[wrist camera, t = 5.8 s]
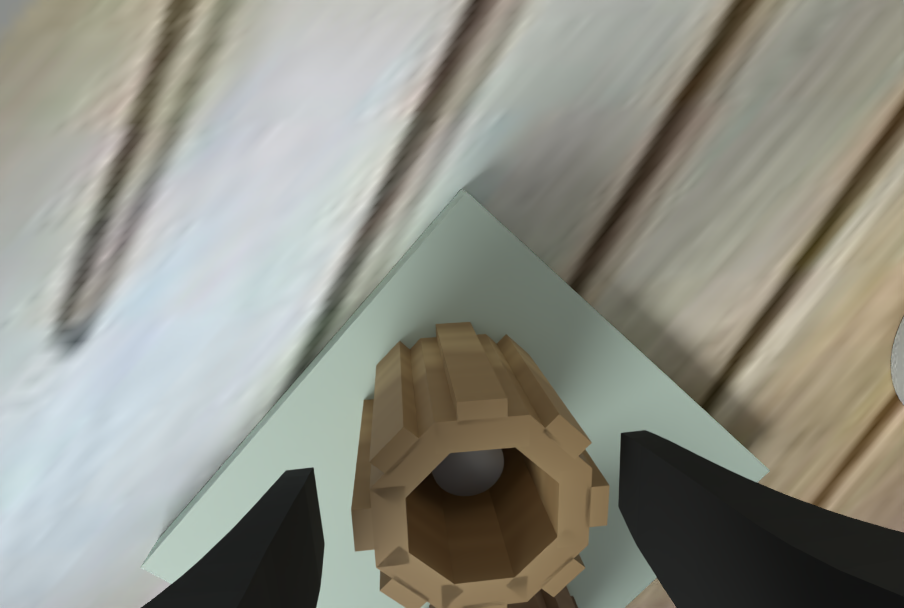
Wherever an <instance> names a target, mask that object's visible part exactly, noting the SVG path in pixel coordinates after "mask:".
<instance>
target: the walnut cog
mask: <svg viewBox="0 0 904 608" xmlns="http://www.w3.org/2000/svg"><path fill="white" fill-rule="evenodd" d="M429 608H436V607H434V606H433V605H431V604H430V605H429ZM507 608H578V606H577V604H576V601H575V599H574V597H573V596H570V593H569V591H568V588H567V586H565V587H564V588H563V589H562V590H561V591H560V592H559V593H558V594H557V595H556V596H555V597H553V596H551V595H550V594H548V593H547V592H546V591H544V590H543V589H542V588H541V589H540V590H539V591H538V592H537V593H536V594H535V595H534V596H533V597H532V598H531V599H530V600H529V601H528V602H521V603H512V604H507Z"/></svg>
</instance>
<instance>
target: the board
mask: <svg viewBox="0 0 904 608" xmlns="http://www.w3.org/2000/svg"><path fill="white" fill-rule="evenodd" d="M460 322H471V324H472V326H473V329H474V331H475V333H476V335H478V334H486V335H488V336H489V337H490V338H491V339H492V340H493V341H494V342H495V343H498V342H499V341H500V340H501V339H502V338H503V337H504V336H505V335H506V334H507V335H508V336H509V337H510V338H511V339H512V340H514V341H515V342H516V343H517V344H518V345H519V346H520V347H521V348H522V349H524V350H525V351H526V352H527V353H528V354H529V355H530V356H531V358H532V359H533V360H534V362H535V363H536V365H537V366H538V367H539V369H540V370H541V372H542V373H543V375H544V376H545V377H546V379H547V380H548V382H549V383H550V384H551V386H552V387H553V389H554V390H555V391H556V393H557V394H558V396H559V397H560V398H561V400H562V401H563V403H564V404H565V405H566V407H567V408H568V410H569V411H570V413H571V414H572V415H573V417H574V418H575V420H576V421H577V422H578V424H579V425H580V427H581V428H582V429H583V431H584V432H585V434H586V435H587V436H588V438H589V439H590V441H591V442H592V443H591V444H590V445H589V446H588V447H587V448H586V451H587V452H588V454H589V455H590V457H591V458H592V460H593V461H594V463H595V464H596V466H597V467H598V469H599V470H600V472H601V473H602V475H603V476H604V478H605V479H606V481H607V482H608V484H609V485H610V488H609V504H608V520H607V526H597V527H589V543H588V546H587V547H586V548H584V549H583V550H582V551H581V552H580V553H579V555H580V557H581V559H582V561H583V563H584V566H585V569H584V570H583V571H582V572H581V573H579V574H578V575H577V576H576V577H575V578H574V579H573V580H572V581H571V582H570V583H569V584H568V585H566V586H567V588H568V591H569V593H570V596H573V597H574V599H575V601H576V604H577V606H578V608H625V607H626V606H627V605H628V604H629V603H630V602H631V601H632V600H633V599H634V598H635V597H636V596H637V595H639V594H640V593H641V592H642V591H643V590H644V589H645V588H646V587H647V586H648V585H649V584H650V583H651V582H652V581H653V580H654V579H656V578H657V577H656V575H655V574H654V572H653V571H652V569H651V567H650V566H649V564H648V563H647V561H646V560H645V558H644V557H643V555H642V553H641V552H640V550H639V549H638V547H637V545H636V543H635V541H634V539H633V537H632V535H631V533H630V531H629V529H628V527H627V525H626V523H625V520H624V518H623V516H622V514H621V512H620V510H619V507H618V499H619V470H620V440H621V433H624V432H633V431H642V430H646V431H649V432H652V433H654V434H656V435H659V436H661V437H663V438H665V439H667V440H669V441H671V442H673V443H675V444H677V445H679V446H681V447H683V448H685V449H687V450H689V451H691V452H693V453H695V454H697V455H699V456H701V457H703V458H705V459H707V460H709V461H712V462H714V463H716V464H718V465H720V466H722V467H724V468H726V469H728V470H730V471H732V472H734V473H737V474H739V475H741V476H743V477H745V478H748V479H750V480H752V481H754V482H758V481H759V480H760V479H762V478H763V477H764V476H765V475H766V474H767V473H768V472H769V471H770V470H769V469H768V468H767V467H766V466H764V465H763V464H762V463H761V462H760V461H759V460H758V459H757V458H756V457H755V456H754V455H753V454H751V453H750V452H749V451H748V450H747V449H746V448H745V447H744V446H743V445H742V444H741V443H740V442H738V441H737V440H736V439H735V438H734V437H733V436H732V435H731V434H730V433H729V432H728V431H726V430H725V429H724V428H723V427H722V426H721V425H720V424H719V423H718V422H717V421H716V420H715V419H713V418H712V417H711V416H710V415H709V414H708V413H707V412H706V411H705V410H704V409H703V408H701V407H700V406H699V405H698V404H697V403H696V402H695V401H694V400H693V399H692V398H691V397H690V396H688V395H687V394H686V393H685V392H684V391H683V390H682V389H681V388H680V387H679V386H678V385H676V384H675V383H674V382H673V381H672V380H671V379H670V378H669V377H668V376H667V375H666V374H665V373H663V372H662V371H661V370H660V369H659V368H658V367H657V366H656V365H655V364H654V363H653V362H651V361H650V360H649V359H648V358H647V357H646V356H645V355H644V354H643V353H642V352H641V351H640V350H638V349H637V348H636V347H635V346H634V345H633V344H632V343H631V342H630V341H629V340H628V339H626V338H625V337H624V336H623V335H622V334H621V333H620V332H619V331H618V330H617V329H616V328H615V327H613V326H612V325H611V324H610V323H609V322H608V321H607V320H606V319H605V318H604V317H603V316H601V315H600V314H599V313H598V312H597V311H596V310H595V309H594V308H593V307H592V306H591V305H590V304H588V303H587V302H586V301H585V300H584V299H583V298H582V297H581V296H580V295H579V294H578V293H577V292H575V291H574V290H573V289H572V288H571V287H570V286H569V285H568V284H567V283H566V282H565V281H563V280H562V279H561V278H560V277H559V276H558V275H557V274H556V273H555V272H554V271H553V270H552V269H550V268H549V267H548V266H547V265H546V264H545V263H544V262H543V261H542V260H541V259H540V258H538V257H537V256H536V255H535V254H534V253H533V252H532V251H531V250H530V249H529V248H528V247H527V246H525V245H524V244H523V243H522V242H521V241H520V240H519V239H518V238H517V237H516V236H515V235H513V234H512V233H511V232H510V231H509V230H508V229H507V228H506V227H505V226H504V225H503V224H502V223H500V222H499V221H498V220H497V219H496V218H495V217H494V216H493V215H492V214H491V213H490V212H488V211H487V210H486V209H485V208H484V207H483V206H482V205H481V204H480V203H479V202H478V201H477V200H475V199H474V198H473V197H472V196H471V195H470V194H469V193H468V192H467V191H464V190H462V189H461V190H460V191H459V192H458V193H457V195H456V196H455V197H454V198H453V199H452V200H451V201H450V203H449V204H448V205H447V206H446V207H445V208H444V210H443V211H442V212H441V213H440V214H439V215H438V216H437V218H436V219H435V220H434V221H433V222H432V223H431V225H430V226H429V227H428V228H427V229H426V230H425V232H424V233H423V234H422V235H421V236H420V237H419V238H418V240H417V241H416V242H415V243H414V244H413V245H412V247H411V248H410V249H409V250H408V251H407V252H406V253H405V255H404V256H403V257H402V258H401V259H400V260H399V262H398V263H397V264H396V265H395V266H394V267H393V268H392V270H391V271H390V272H389V273H388V274H387V275H386V277H385V278H384V279H383V280H382V281H381V282H380V284H379V285H378V286H377V287H376V288H375V289H374V290H373V292H372V293H371V294H370V295H369V296H368V297H367V299H366V300H365V301H364V302H363V303H362V304H361V305H360V307H359V308H358V309H357V310H356V311H355V312H354V314H353V315H352V316H351V317H350V318H349V319H348V321H347V322H346V323H345V324H344V325H343V326H342V327H341V329H340V330H339V331H338V332H337V333H336V334H335V336H334V337H333V338H332V339H331V340H330V341H329V342H328V344H327V345H326V346H325V347H324V348H323V349H322V351H321V352H320V353H319V354H318V355H317V356H316V357H315V359H314V360H313V361H312V362H311V363H310V364H309V366H308V367H307V368H306V369H305V370H304V371H303V373H302V374H301V375H300V376H299V377H298V378H297V379H296V381H295V382H294V383H293V384H292V385H291V386H290V388H289V389H288V390H287V391H286V392H285V393H284V394H283V396H282V397H281V398H280V399H279V400H278V401H277V403H276V404H275V405H274V406H273V407H272V408H271V409H270V411H269V412H268V413H267V414H266V415H265V416H264V418H263V419H262V420H261V421H260V422H259V423H258V425H257V426H256V427H255V428H254V429H253V430H252V431H251V433H250V434H249V435H248V436H247V437H246V438H245V440H244V441H243V442H242V443H241V444H240V445H239V446H238V448H237V449H236V450H235V451H234V452H233V453H232V455H231V456H230V457H229V458H228V459H227V460H226V461H225V463H224V464H223V465H222V466H221V467H220V468H219V470H218V471H217V472H216V473H215V474H214V475H213V477H212V478H211V479H210V480H209V481H208V482H207V483H206V485H205V486H204V487H203V488H202V489H201V490H200V492H199V493H198V494H197V495H196V496H195V497H194V498H193V500H192V501H191V502H190V503H189V504H188V505H187V507H186V508H185V509H184V510H183V511H182V512H181V513H180V515H179V516H178V517H177V518H176V519H175V520H174V522H173V523H172V524H171V525H170V526H169V527H168V529H167V530H166V531H165V532H164V533H163V534H162V535H161V537H160V538H159V539H158V540H157V542H156V543H155V545H154V547H153V548H152V550H151V551H150V553H149V555H148V556H147V558H146V560H145V561H144V563H143V564H142V566H141V568H142V569H144V570H146V571H148V572H150V573H151V574H153V575H155V576H157V577H159V578H161V579H163V580H164V581H166V582H168V583H170V584H172V583H173V582H175V581H176V580H177V579H178V578H180V577H181V576H182V575H183V574H184V573H185V572H187V571H188V570H189V569H190V568H191V567H192V566H194V565H195V564H196V563H197V562H198V561H199V560H200V559H201V558H202V557H203V556H205V555H206V554H207V553H208V552H209V551H210V550H211V549H212V548H213V547H214V546H215V545H216V544H217V543H218V542H219V541H220V540H221V539H222V538H223V537H224V536H225V535H226V534H227V533H228V532H229V531H230V530H231V529H232V528H233V527H234V526H235V525H236V524H237V523H238V522H239V521H240V520H241V519H242V518H243V517H244V516H245V515H246V514H247V513H248V512H249V510H250V509H251V508H252V507H253V506H254V505H255V504H256V503H257V502H258V501H259V499H260V498H261V497H262V496H263V495H264V494H265V493H266V492H267V491H268V489H269V488H270V487H271V486H272V485H273V484H274V483H275V482H276V481H277V480H278V478H279V477H280V476H281V475H282V474H283V473H284V472H285V471H286V470H294V469H302V468H311V467H314V474H315V480H316V487H317V494H318V501H319V508H320V514H321V521H322V528H323V535H324V542H325V547H324V558H323V569H322V578H321V588H320V593H319V597H318V602H317V607H316V608H405V607H404V606H402V605H400V604H399V603H397V602H396V601H394V600H393V599H391V598H390V597H388V596H387V595H385V594H384V593H382V592H381V591H380V570H379V569H377V568H376V563H375V551H374V550H366V551H356V552H355V547H354V537H353V526H352V516H351V506H352V497H353V488H354V480H355V471H356V462H357V454H358V445H359V436H360V428H361V419H362V410H363V401H364V400H369V399H374V389H375V376H376V365H377V364H378V363H379V362H380V361H381V360H382V359H383V358H384V357H385V356H386V355H387V353H388V352H389V351H390V350H391V349H392V348H393V347H394V346H395V345H396V344H397V343H398V342H399V341H400V342H402V343H403V344H404V345H405V346H406V347H408V348H409V349H411V348H412V347H413V346H414V344H415V343H416V342H417V341H418V340H419V339H420V338H431V337H436V324H443V323H460ZM503 467H504V456H503V452H502V450H501V449H491V450H480V451H468V452H457V453H450V454H449V455H448V456H447V457H446V458H445V459H444V460H443V461H442V462H441V463H440V464H439V465H438V466H437V467H436V468H435V469H434V470H433V471H432V474H433V477H434V479H435V481H436V482H437V484H438V485H439V486H440V487H441V488H442V489H443V490H445V491H446V492H448V493H450V494H453V495H457V496H473V495H477V494H480V493H482V492H484V491H486V490H488V489H489V488H490V487H492V486H493V485H494V484H495V483H496V482H497V480H498V479H499V477H500V475H501V473H502V471H503ZM429 605H430V603H428V602H426V603H425V604H424V605H423V606H422V607H421V608H429Z"/></svg>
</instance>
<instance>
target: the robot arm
mask: <svg viewBox="0 0 904 608" xmlns="http://www.w3.org/2000/svg"><path fill="white" fill-rule="evenodd" d="M618 507H619V510H620V512H621V514H622V516H623V518H624V520H625V523H626V525H627V527H628V529H629V531H630V533H631V535H632V537H633V539H634V541H635V543H636V545H637V547H638V549H639V550H640V552H641V553H642V555H643V557H644V558H645V560H646V561H647V563H648V564H649V566H650V567H651V569H652V571H653V572H654V574H655V575H656V577H657V578H658V580H659V581H660V583H661V584H662V586H663V588H664V589H665V591H666V592H667V594H668V595H669V597H670V598H671V600H672V601H673V603H674V604H675V606H676V607H677V608H904V533H903V532H899V531H895V530H891V529H888V528H884V527H881V526H878V525H874V524H871V523H867V522H864V521H861V520H857V519H854V518H850V517H847V516H844V515H841V514H838V513H835V512H832V511H829V510H826V509H823V508H820V507H818V506H815V505H812V504H809V503H807V502H804V501H801V500H798V499H796V498H793V497H790V496H788V495H785V494H783V493H780V492H778V491H775V490H773V489H771V488H768V487H766V486H764V485H761V484H759V483H757V482H754V481H752V480H750V479H748V478H745V477H743V476H741V475H739V474H737V473H734V472H732V471H730V470H728V469H726V468H724V467H722V466H720V465H718V464H716V463H714V462H712V461H709V460H707V459H705V458H703V457H701V456H699V455H697V454H695V453H693V452H691V451H689V450H687V449H685V448H683V447H681V446H679V445H677V444H675V443H673V442H671V441H669V440H667V439H665V438H663V437H661V436H659V435H656V434H654V433H652V432H649V431H646V430H642V431H633V432H624V433H621V440H620V470H619V499H618ZM324 547H325V542H324V535H323V528H322V521H321V514H320V508H319V501H318V494H317V487H316V480H315V474H314V467H311V468H302V469H294V470H286V471H285V472H284V473H283V474H282V475H281V476H280V477H279V478H278V480H277V481H276V482H275V483H274V484H273V485H272V486H271V487H270V488H269V489H268V491H267V492H266V493H265V494H264V495H263V496H262V497H261V498H260V499H259V501H258V502H257V503H256V504H255V505H254V506H253V507H252V508H251V509H250V510H249V512H248V513H247V514H246V515H245V516H244V517H243V518H242V519H241V520H240V521H239V522H238V523H237V524H236V525H235V526H234V527H233V528H232V529H231V530H230V531H229V532H228V533H227V534H226V535H225V536H224V537H223V538H222V539H221V540H220V541H219V542H218V543H217V544H216V545H215V546H214V547H213V548H212V549H211V550H210V551H209V552H208V553H207V554H206V555H205V556H203V557H202V558H201V559H200V560H199V561H198V562H197V563H196V564H195V565H194V566H192V567H191V568H190V569H189V570H188V571H187V572H185V573H184V574H183V575H182V576H181V577H180V578H178V579H177V580H176V581H175V582H173V583H172V584H171V585H170V586H169V587H167V588H166V589H165V590H164V591H162V592H161V593H160V594H159V595H157V596H156V597H155V598H154V599H152V600H151V601H150V602H148V603H147V604H145V605H144V606H143V607H141V608H316V607H317V602H318V597H319V593H320V588H321V578H322V569H323V558H324Z"/></svg>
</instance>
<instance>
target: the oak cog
mask: <svg viewBox="0 0 904 608" xmlns="http://www.w3.org/2000/svg"><path fill="white" fill-rule="evenodd" d="M591 443H592V442H591V441H590V439H589V438H588V436H587V435H586V434H585V432H584V431H583V429H582V428H581V427H580V425H579V424H578V422H577V421H576V420H575V418H574V417H573V415H572V414H571V413H570V411H569V410H568V408H567V407H566V405H565V404H564V403H563V401H562V400H561V398H560V397H559V396H558V394H557V393H556V391H555V390H554V389H553V387H552V386H551V384H550V383H549V382H548V380H547V379H546V377H545V376H544V375H543V373H542V372H541V370H540V369H539V367H538V366H537V365H536V363H535V362H534V360H533V359H532V358H531V356H530V355H529V354H528V353H527V352H526V351H525V350H524V349H522V348H521V347H520V346H519V345H518V344H517V343H516V342H515V341H514V340H512V339H511V338H510V337H509V336H508V335H507V334H506V335H505V336H504V337H503V338H502V339H501V340H500V341H499V342H498V343H495V342H494V341H493V340H492V339H491V338H490V337H489V336H488V335H486V334H478V335H476V333H475V331H474V329H473V326H472V324H471V322H460V323H443V324H436V337H431V338H420V339H419V340H418V341H417V342H416V343H415V344H414V346H413V347H412V348H411V349H409V348H408V347H406V346H405V345H404V344H403V343H402V342H400V341H399V342H398V343H397V344H396V345H395V346H394V347H393V348H392V349H391V350H390V351H389V352H388V353H387V355H386V356H385V357H384V358H383V359H382V360H381V361H380V362H379V363H378V364H377V365H376V376H375V389H374V399H369V400H364V401H363V410H362V419H361V428H360V436H359V445H358V454H357V462H356V471H355V480H354V488H353V497H352V506H351V516H352V526H353V537H354V547H355V552H356V551H366V550H374V551H375V563H376V568H377V569H379V570H380V591H381V592H382V593H384V594H385V595H387V596H388V597H390V598H391V599H393V600H394V601H396V602H397V603H399V604H400V605H402V606H404V607H405V608H421V607H422V606H423V605H424V604H425V603H426V602H428V603H430V604H431V605H433V606H434V607H436V608H507V604H512V603H521V602H528V601H529V600H530V599H531V598H532V597H533V596H534V595H535V594H536V593H537V592H538V591H539V590H540V589H541V588H542V589H543V590H544V591H546V592H547V593H548V594H550V595H551V596H553V597H555V596H556V595H557V594H558V593H559V592H560V591H561V590H562V589H563V588H564V587H565V586H566V585H568V584H569V583H570V582H571V581H572V580H573V579H574V578H575V577H576V576H577V575H578V574H579V573H581V572H582V571H583V570H584V569H585V566H584V563H583V561H582V559H581V557H580V555H579V553H580V552H581V551H582V550H583V549H584V548H586V547H587V546H588V543H589V527H597V526H607V520H608V504H609V488H610V485H609V484H608V482H607V481H606V479H605V478H604V476H603V475H602V473H601V472H600V470H599V469H598V467H597V466H596V464H595V463H594V461H593V460H592V458H591V457H590V455H589V454H588V452H587V451H586V448H587V447H588V446H589V445H590V444H591ZM491 449H501V450H502V452H503V456H504V467H503V471H502V473H501V475H500V477H499V479H498V480H497V482H496V483H495V484H494V485H493V486H492V487H490V488H489V489H488V490H486V491H484V492H482V493H480V494H477V495H473V496H457V495H453V494H450V493H448V492H446V491H445V490H443V489H442V488H441V487H440V486H439V485H438V484H437V482H436V481H435V479H434V477H433V474H432V471H433V470H434V469H435V468H436V467H437V466H438V465H439V464H440V463H441V462H442V461H443V460H444V459H445V458H446V457H447V456H448V455H449V454H450V453H457V452H468V451H480V450H491Z"/></svg>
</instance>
